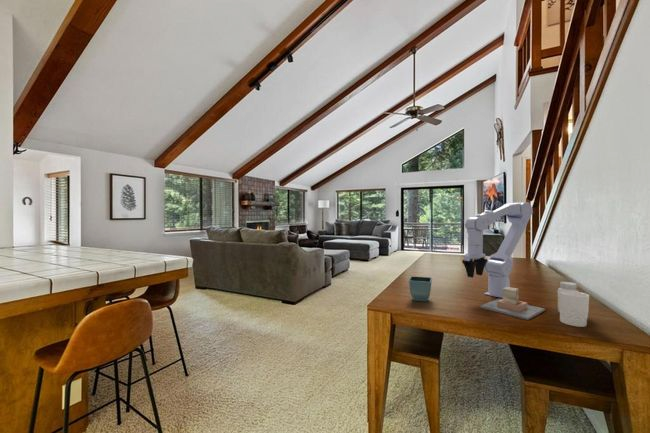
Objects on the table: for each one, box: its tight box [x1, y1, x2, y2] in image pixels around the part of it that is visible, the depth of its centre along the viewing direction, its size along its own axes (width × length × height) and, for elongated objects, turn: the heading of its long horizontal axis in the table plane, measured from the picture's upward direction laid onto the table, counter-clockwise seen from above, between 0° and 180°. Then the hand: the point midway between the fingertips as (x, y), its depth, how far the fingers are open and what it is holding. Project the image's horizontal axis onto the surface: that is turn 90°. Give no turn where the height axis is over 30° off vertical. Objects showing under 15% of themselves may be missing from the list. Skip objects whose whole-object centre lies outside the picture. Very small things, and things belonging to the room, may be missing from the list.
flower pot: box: [408, 275, 433, 303], centre depth 123 cm, size 9×9×9 cm
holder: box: [480, 298, 546, 321], centre depth 111 cm, size 16×16×3 cm
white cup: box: [557, 290, 590, 328], centre depth 97 cm, size 8×8×10 cm
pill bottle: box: [556, 281, 580, 313], centre depth 106 cm, size 6×6×11 cm
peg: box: [502, 286, 519, 305], centre depth 111 cm, size 4×4×7 cm
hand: (474, 276), depth 126 cm, fingers open, 7 cm apart
